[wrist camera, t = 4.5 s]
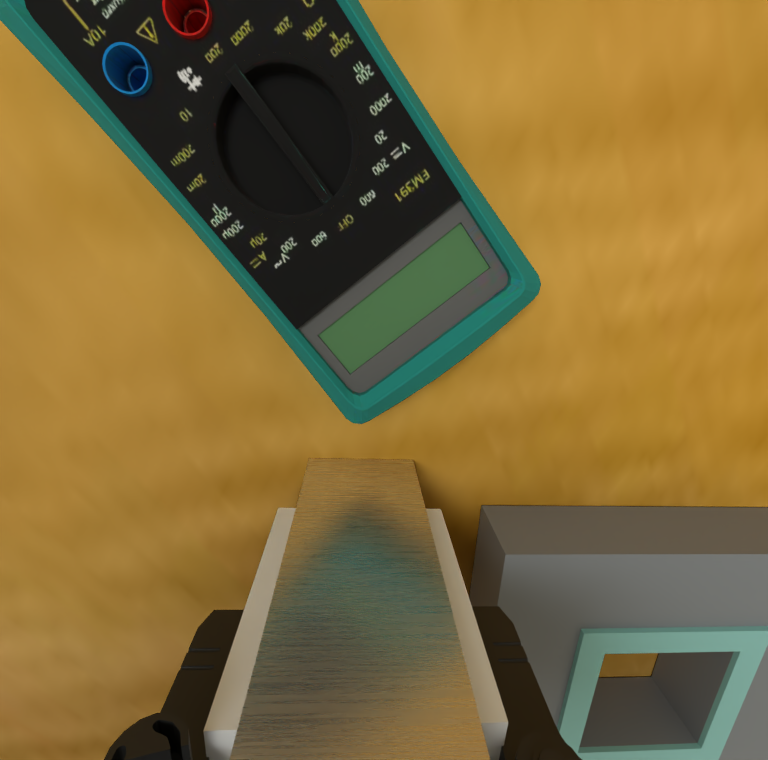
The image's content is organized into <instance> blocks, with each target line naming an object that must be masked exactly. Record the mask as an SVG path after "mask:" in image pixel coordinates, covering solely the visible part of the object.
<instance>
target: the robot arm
mask: <svg viewBox="0 0 768 760" xmlns="http://www.w3.org/2000/svg"><path fill="white" fill-rule="evenodd" d="M295 509H296V508H278V510H277V513H276V516H275V519H274V522H273V525H272V528H271V531H270V534H269V537H268V540H267V543H266V546H265V549H264V552H263V555H262V558H261V561H260V564H259V567H258V570H257V573H256V576H255V579H254V582H253V585H252V588H251V591H250V594H249V597H248V600H247V603H246V606H245V609H244V610H214V611H213V612H212V613H211V614H210V615H209V616H208V617H207V618H206V620H205V621H204V622H203V623H202V624H201V625H200V626H199V627H198V629H197V631H196V634H195V636H194V638H193V640H192V643H191V645H190V647H189V651H188V653H187V654H186V656H185V658H184V661H183V663H182V665H181V670H180V671H179V672H178V674H177V676H176V679H175V681H174V683H173V685H172V688H171V690H170V692H169V694H168V697H167V699H166V701H165V703H164V706H163V708H162V710H161V712H160V713H156V714H153V715H150V716H148V717H145V718H143V719H140V720H139V721H138V722H136V723H135V724H133V725H132V726H131V727H129V728H128V729H127V730H125V731H124V732H123V733H122V734H121V736H120V737H119V738H118V739H117V740H116V741H115V742H114V744H113V745H112V746H111V747H110V749H109V751H108V753H107V755H106V757H105V759H104V760H229V759H230V755H231V752H232V748H233V744H234V740H235V736H236V733H237V729H238V725H239V721H240V717H241V714H242V710H243V706H244V702H245V699H246V695H247V691H248V687H249V683H250V680H251V676H252V672H253V668H254V664H255V661H256V657H257V653H258V649H259V646H260V642H261V638H262V634H263V630H264V627H265V623H266V619H267V615H268V611H269V608H270V604H271V600H272V596H273V593H274V589H275V585H276V581H277V577H278V574H279V570H280V566H281V562H282V558H283V555H284V551H285V547H286V543H287V540H288V536H289V532H290V528H291V524H292V521H293V517H294V513H295ZM426 512H427V516H428V519H429V523H430V527H431V531H432V535H433V539H434V543H435V547H436V551H437V554H438V558H439V562H440V566H441V570H442V574H443V578H444V582H445V585H446V589H447V593H448V597H449V601H450V605H451V609H452V613H453V617H454V620H455V624H456V628H457V632H458V636H459V640H460V644H461V648H462V652H463V655H464V659H465V663H466V667H467V671H468V675H469V679H470V683H471V687H472V690H473V694H474V698H475V702H476V706H477V710H478V714H479V718H480V722H481V725H482V729H483V733H484V737H485V741H486V745H487V749H488V753H489V757H490V760H582V759H581V758H580V757H579V756H578V755H577V754H576V753H575V751H574V750H573V749H572V748H571V747H570V746H569V745H568V744H567V743H566V742H565V741H564V739H563V738H562V737H561V735H560V733H559V731H558V729H557V727H556V725H555V723H554V720H553V718H552V715H551V713H550V711H549V708H548V706H547V703H546V701H545V699H544V696H543V694H542V691H541V689H540V687H539V684H538V682H537V679H536V677H535V675H534V672H533V670H532V667H531V665H530V663H529V662H528V658H527V655H526V653H525V651H524V648H523V646H521V641H520V639H519V636H518V634H517V631H516V629H515V627H514V624H513V622H512V621H511V620H510V619H509V618H508V616H507V615H506V614H505V613H504V612H503V611H502V610H501V608H500V607H499V606H471V603H470V599H469V596H468V593H467V590H466V587H465V584H464V580H463V577H462V574H461V571H460V568H459V565H458V562H457V558H456V555H455V552H454V549H453V546H452V543H451V539H450V536H449V533H448V530H447V527H446V524H445V521H444V517H443V514H442V511H441V509H426Z"/></svg>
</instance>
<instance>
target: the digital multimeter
mask: <svg viewBox="0 0 768 760" xmlns="http://www.w3.org/2000/svg"><path fill="white" fill-rule="evenodd" d="M0 20H1V21H2V22H3V23H4V25H5V26H6V27H7V28H8V29H9V30H10V31H11V32H12V33H13V34H14V35H15V36H16V37H17V38H18V39H19V40H20V42H21V43H22V44H23V45H24V46H25V47H26V48H27V49H28V50H29V51H30V52H31V53H32V54H33V55H34V56H35V57H36V59H37V60H38V61H39V62H40V63H41V64H42V65H43V66H44V67H45V68H46V69H47V70H48V71H49V72H50V73H51V74H52V76H53V77H54V78H55V79H56V80H57V81H58V82H59V83H60V84H61V85H62V86H63V87H64V88H65V89H66V90H67V92H68V93H69V94H70V95H71V96H72V97H73V98H74V99H75V100H76V101H77V102H78V103H79V104H80V105H81V106H82V107H83V109H84V110H85V111H86V112H87V113H88V114H89V115H90V116H91V117H92V118H93V119H94V120H95V122H96V123H97V124H98V125H99V126H100V127H101V128H102V129H103V130H104V132H105V133H106V134H107V135H108V136H109V137H110V138H111V139H112V140H113V141H114V143H115V144H116V145H117V146H118V147H119V148H120V149H121V150H122V151H123V153H124V154H125V155H126V156H127V157H128V158H129V159H130V160H131V161H132V162H133V164H134V165H135V166H136V167H137V168H138V169H139V170H140V171H141V172H142V173H143V175H144V176H145V177H146V178H147V179H148V180H149V181H150V182H151V183H152V185H153V186H154V187H155V188H156V189H157V190H158V191H159V192H160V193H161V194H162V196H163V197H164V198H165V199H166V200H167V201H168V202H169V203H170V204H171V206H172V207H173V208H174V209H175V210H176V211H177V212H178V213H179V214H180V215H181V217H182V218H183V219H184V220H185V221H186V222H187V223H188V224H189V226H190V227H191V228H192V229H193V230H194V232H195V233H196V234H197V235H198V236H199V238H200V239H201V240H202V241H203V242H204V243H205V245H206V246H207V247H208V248H209V249H210V251H211V252H212V253H213V254H214V255H215V257H216V258H217V259H218V260H219V261H220V262H221V264H222V265H223V266H224V267H225V268H226V270H227V271H228V272H229V273H230V274H231V276H232V277H233V278H234V279H235V280H236V282H237V283H238V284H239V285H240V286H241V287H242V289H243V290H244V291H245V292H246V293H247V295H248V296H249V297H250V298H251V299H252V301H253V302H254V303H255V304H256V305H257V306H258V308H259V309H260V310H261V311H262V312H263V314H264V315H265V316H266V317H267V318H268V320H269V321H270V322H271V323H272V325H273V326H274V327H275V329H276V330H277V331H278V332H279V334H280V335H281V336H282V337H283V339H284V340H285V341H286V343H287V344H288V345H289V346H290V348H291V349H292V350H293V351H294V353H295V354H296V355H297V356H298V358H299V359H300V360H301V362H302V363H303V364H304V365H305V367H306V368H307V369H308V370H309V372H310V373H311V374H312V375H313V377H314V378H315V379H316V381H317V382H318V383H319V384H320V386H321V387H322V388H323V389H324V391H325V392H326V393H327V395H328V396H329V397H330V398H331V400H332V401H333V402H334V403H335V405H336V406H337V407H338V408H339V410H340V411H341V412H342V414H343V415H344V416H345V417H346V419H348V420H349V421H351V422H352V423H358V424H362V423H365V422H367V421H370V420H371V419H373V418H375V417H376V416H378V415H379V414H381V413H383V412H384V411H386V410H388V409H389V408H391V407H393V406H394V405H396V404H398V403H399V402H401V401H403V400H404V399H406V398H407V397H409V396H410V395H412V394H413V393H415V392H416V391H418V390H420V389H421V388H423V387H424V386H426V385H427V384H429V383H430V382H432V381H433V380H435V379H436V378H438V377H439V376H440V375H442V374H443V373H445V372H446V371H447V370H449V369H450V368H451V367H453V366H454V365H455V364H457V363H458V362H460V361H461V360H462V359H464V358H465V357H466V356H468V355H469V354H470V353H471V352H473V351H474V350H475V349H476V348H477V347H479V346H480V345H481V344H482V343H484V342H485V341H486V340H487V339H488V338H490V337H491V336H492V335H493V334H494V333H496V332H497V331H498V330H499V329H501V328H502V327H503V326H504V325H505V324H506V323H507V322H509V321H510V320H511V319H512V318H513V317H514V316H515V315H516V314H518V313H519V312H520V311H521V310H522V309H523V308H524V307H526V306H527V305H528V304H529V303H530V302H531V301H532V300H533V299H534V298H535V297H536V296H537V295H538V293H539V290H540V286H541V283H540V279H539V276H538V274H537V273H536V271H535V270H534V268H533V267H532V265H531V264H530V262H529V261H528V260H527V258H526V257H525V255H524V254H523V252H522V251H521V250H520V248H519V247H518V245H517V244H516V242H515V241H514V239H513V238H512V237H511V235H510V234H509V232H508V231H507V229H506V228H505V226H504V225H503V224H502V222H501V221H500V219H499V218H498V216H497V215H496V213H495V212H494V211H493V209H492V208H491V206H490V205H489V203H488V202H487V200H486V199H485V198H484V196H483V195H482V193H481V192H480V190H479V189H478V187H477V186H476V185H475V183H474V182H473V180H472V179H471V177H470V176H469V175H468V173H467V172H466V170H465V169H464V167H463V166H462V164H461V163H460V162H459V160H458V158H457V157H456V155H455V154H454V152H453V151H452V149H451V148H450V146H449V144H448V143H447V141H446V140H445V138H444V137H443V135H442V134H441V132H440V130H439V129H438V127H437V126H436V124H435V123H434V121H433V120H432V118H431V116H430V115H429V113H428V112H427V110H426V109H425V107H424V106H423V104H422V102H421V101H420V99H419V98H418V96H417V95H416V93H415V92H414V90H413V88H412V87H411V85H410V84H409V82H408V81H407V79H406V78H405V76H404V75H403V73H402V71H401V70H400V68H399V67H398V65H397V64H396V62H395V61H394V59H393V57H392V56H391V54H390V53H389V51H388V50H387V48H386V47H385V45H384V43H383V42H382V40H381V38H380V36H379V35H378V33H377V31H376V30H375V28H374V26H373V25H372V23H371V21H370V19H369V18H368V16H367V14H366V13H365V11H364V9H363V8H362V6H361V4H360V2H359V1H358V0H0ZM52 41H53V42H52ZM57 47H58V48H59V49H58V48H57ZM290 53H291V54H290ZM63 54H64V55H63ZM259 54H260V55H259ZM306 58H307V59H306ZM69 61H70V62H69ZM317 64H318V65H317ZM320 66H321V67H320ZM74 67H75V68H74ZM80 74H81V75H80ZM332 76H333V77H332ZM85 80H86V81H85ZM91 87H92V88H91ZM343 90H344V91H343ZM213 97H214V98H213ZM102 100H103V101H102ZM352 107H353V108H352ZM209 111H210V112H209ZM356 119H357V120H356ZM357 123H358V124H357ZM207 128H208V131H207ZM359 135H360V137H359ZM359 152H360V155H359ZM212 160H213V161H212ZM213 163H214V164H213ZM356 169H357V170H356ZM219 176H220V177H219ZM220 178H221V179H220ZM351 182H352V183H351ZM350 184H351V185H350ZM228 190H229V191H230V192H229V191H228ZM264 217H265V218H264ZM294 222H295V223H294ZM503 288H504V289H503ZM502 289H503V290H502ZM499 291H500V292H499ZM498 292H499V293H498ZM495 294H496V295H495ZM491 297H492V298H491ZM345 384H346V385H345Z"/></svg>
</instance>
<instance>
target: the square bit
mask: <svg viewBox="0 0 768 760" xmlns="http://www.w3.org/2000/svg"><path fill="white" fill-rule="evenodd" d="M229 760H490V757H489V753H488V749H487V745H486V741H485V737H484V733H483V729H482V725H481V722H480V718H479V714H478V710H477V706H476V702H475V698H474V694H473V690H472V687H471V683H470V679H469V675H468V671H467V667H466V663H465V659H464V655H463V652H462V648H461V644H460V640H459V636H458V632H457V628H456V624H455V620H454V617H453V613H452V609H451V605H450V601H449V597H448V593H447V589H446V585H445V582H444V578H443V574H442V570H441V566H440V562H439V558H438V554H437V551H436V547H435V543H434V539H433V535H432V531H431V527H430V523H429V519H428V516H427V512H426V508H425V504H424V500H423V496H422V492H421V488H420V484H419V481H418V477H417V473H416V469H415V465H414V461H413V460H388V459H327V458H309V460H308V464H307V468H306V471H305V475H304V479H303V483H302V487H301V490H300V494H299V498H298V502H297V505H296V509H295V513H294V517H293V521H292V524H291V528H290V532H289V536H288V540H287V543H286V547H285V551H284V555H283V558H282V562H281V566H280V570H279V574H278V577H277V581H276V585H275V589H274V593H273V596H272V600H271V604H270V608H269V611H268V615H267V619H266V623H265V627H264V630H263V634H262V638H261V642H260V646H259V649H258V653H257V657H256V661H255V664H254V668H253V672H252V676H251V680H250V683H249V687H248V691H247V695H246V699H245V702H244V706H243V710H242V714H241V717H240V721H239V725H238V729H237V733H236V736H235V740H234V744H233V748H232V752H231V755H230V759H229Z"/></svg>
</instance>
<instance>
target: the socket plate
mask: <svg viewBox="0 0 768 760" xmlns="http://www.w3.org/2000/svg"><path fill="white" fill-rule="evenodd" d="M469 599H470V603H471V606H499V607H500V608H501V610H502V611H503V612H504V613H505V614H506V615H507V616H508V618H509V619H510V620H511V621H512V622H513V624H514V627H515V629H516V631H517V634H518V636H519V639H520V641H521V646H523V648H524V651H525V653H526V655H527V658H528V662H529V663H530V665H531V667H532V670H533V672H534V675H535V677H536V679H537V682H538V684H539V687H540V689H541V691H542V694H543V696H544V699H545V701H546V703H547V706H548V708H549V711H550V713H551V715H552V718H553V720H554V723H555V725H556V727H557V729H558V731H559V733H560V735H561V737H562V738H563V739H564V741H565V742H566V743H567V744H568V745H569V746H570V747H571V748H572V749H573V750H574V751H575V753H576V754H577V755H578V756H579V757H580V758H581V759H582V760H768V507H631V506H487V505H482V506H481V514H480V521H479V528H478V536H477V543H476V550H475V558H474V565H473V572H472V580H471V587H470V595H469ZM628 653H659V655H658V658H657V661H656V664H655V667H654V670H653V673H652V676H651V677H620V678H598V677H599V673H600V670H601V666H602V662H603V659H604V655H605V654H628Z"/></svg>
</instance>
